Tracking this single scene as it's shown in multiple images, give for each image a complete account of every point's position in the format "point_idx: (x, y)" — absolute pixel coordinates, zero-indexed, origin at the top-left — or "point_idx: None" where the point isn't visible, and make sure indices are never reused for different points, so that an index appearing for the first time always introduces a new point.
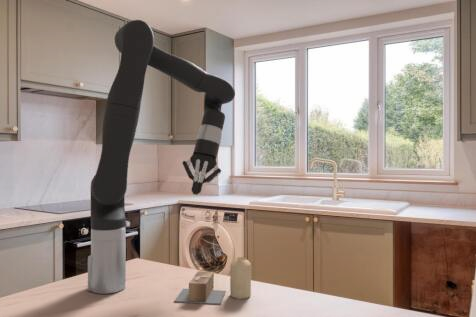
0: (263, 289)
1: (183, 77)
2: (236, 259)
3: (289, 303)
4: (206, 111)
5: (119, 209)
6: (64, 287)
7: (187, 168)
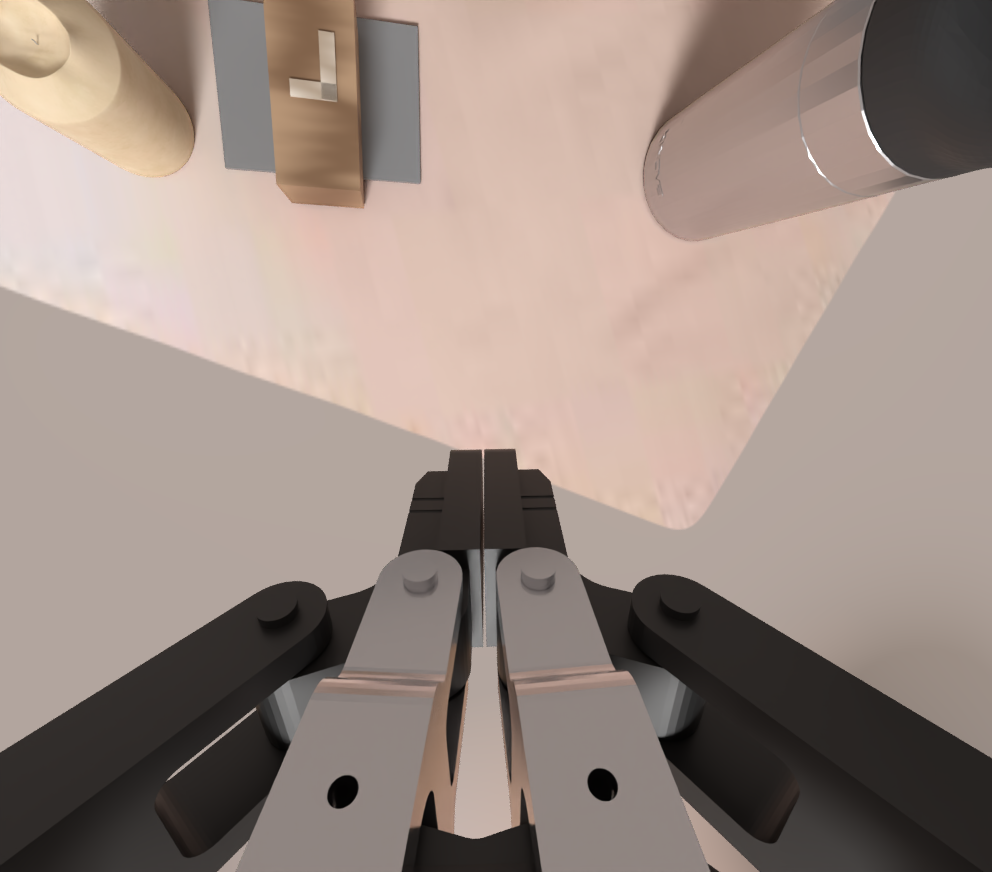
0: (46, 216)
1: None
2: (68, 57)
3: None
4: None
5: None
6: None
7: (936, 790)
